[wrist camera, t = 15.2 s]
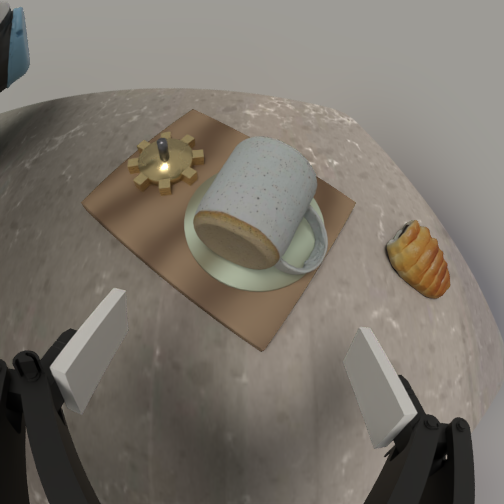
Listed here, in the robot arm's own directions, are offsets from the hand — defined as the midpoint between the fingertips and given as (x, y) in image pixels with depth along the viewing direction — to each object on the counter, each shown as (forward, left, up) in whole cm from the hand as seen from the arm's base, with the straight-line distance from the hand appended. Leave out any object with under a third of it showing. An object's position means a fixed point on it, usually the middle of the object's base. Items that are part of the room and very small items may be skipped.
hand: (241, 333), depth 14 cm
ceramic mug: (-4, +9, -7) cm, 12 cm away
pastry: (+12, +18, -9) cm, 24 cm away
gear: (-16, +10, -7) cm, 20 cm away
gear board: (-9, +10, -9) cm, 16 cm away
